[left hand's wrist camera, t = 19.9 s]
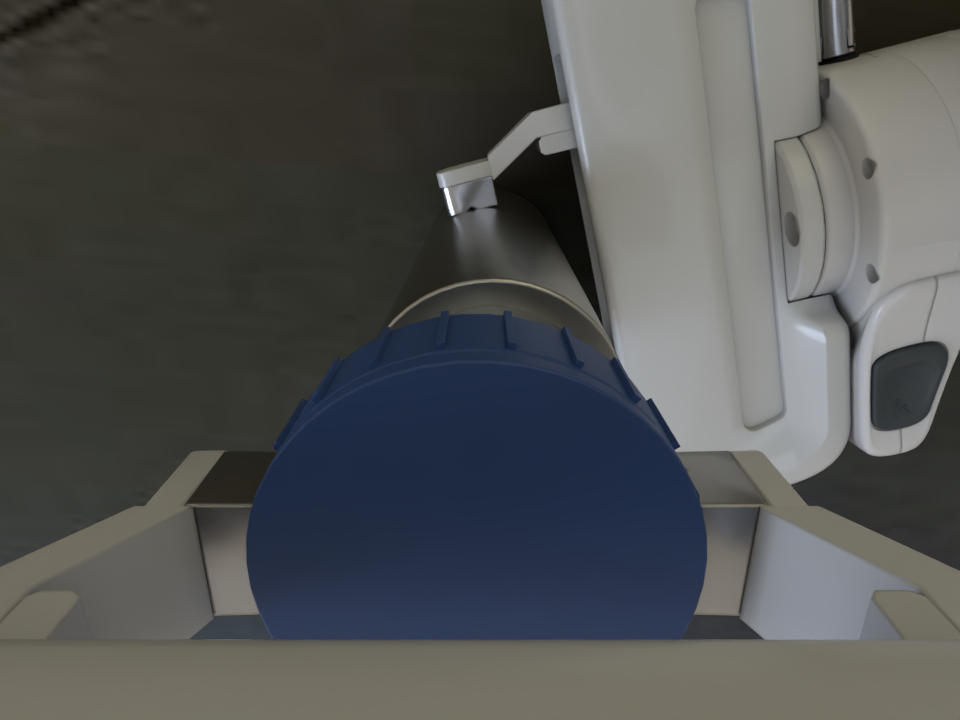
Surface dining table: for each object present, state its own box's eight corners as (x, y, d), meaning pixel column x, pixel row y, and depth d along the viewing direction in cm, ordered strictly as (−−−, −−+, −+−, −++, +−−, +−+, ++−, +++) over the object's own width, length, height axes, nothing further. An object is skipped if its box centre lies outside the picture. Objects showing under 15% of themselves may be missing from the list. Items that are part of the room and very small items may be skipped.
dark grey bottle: (563, 197, 27) (678, 324, 11) (542, 319, 29) (612, 587, 13) (434, 180, 27) (349, 282, 10) (422, 304, 29) (334, 556, 12)
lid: (207, 511, 10) (149, 596, 8) (454, 216, 8) (447, 244, 7) (493, 697, 12) (497, 803, 10) (753, 474, 10) (813, 553, 8)
